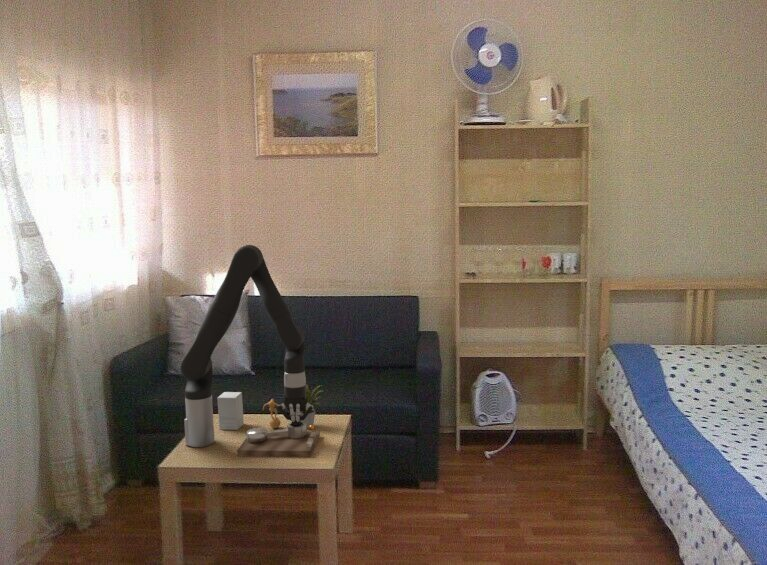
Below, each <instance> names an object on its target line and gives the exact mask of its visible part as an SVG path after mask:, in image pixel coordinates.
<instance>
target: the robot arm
mask: <svg viewBox="0 0 767 565" xmlns="http://www.w3.org/2000/svg"><path fill="white" fill-rule="evenodd" d="M250 279H251V280H252V281H253V283H254V285H255V287H256V289H257V292H258V294H259V296H260V299H261V302H262V304H263V307H264V309H265V311H266V312H267V315H268V317H269V318H270V320H271V321H272V323H273V324H274V327H275V330H276V334H277V335H278V337H279V340H280V342H281V344H282V345H283V346H284V347H285V356H284V359H283V360H284V361H283V362H284V363H283V368H284V369H283V370H284V375H283V386H284V388H283V389H284V391H283V392H284V399H283V402H282V403H281V404H278V405H279V406H277V409H278V411H279V412H280V413H281V415H283V417H284V418H285V419H286V420H287V421H290V422H292V426H294V427H296V426H301V422H300V421H301V420H304V419H305V418H306V417H307V415H308V414H309V413H310V411H311V410H312V409H314V408H315V407H314V406H313V405H314V404H313V405H312V404H311V405H310V404H309V403H308V400H307V398H306V385H307V384H306V383H307V378H306V370H305V368H306V366H305V346H306V345H305V344H306V336H305V332H304V330H303V329H302V328H301V327H299V326H296V325H295V322H294V321H293V315H292V312H291V310H290V309H289V307H288V305H287V303H286V302H285V300H284V298H283V296H282V294H281V293H280V291H279V289H278V288H277V286H276V284H275V282H274V280H273V278H272V276H271V273H270V271H269V269H268V266H267V263H266V261H265V258H264V254H263V253H262V251H261V249H260V248H259V247H257V246H256V245H253V244H246V245H243V246H241V247H239V248H238V249H236V250H235V252H234V253H233V255H232V258H231V260H230V264H229V267H228V269H227V272H226V275H225V278H224V279H223V281H222V283H221V285H220V286H219V288H218V290H217V291H216V293H215V295H214V297H213V299H212V301H211V303H210V304H209V306H208V308H207V310H206V313H205V316H204V317H203V319H202V322H201V324H200V327H199V329H198V333H197V334H196V337H195V339H194V341H193V343H192V345H191V347H190V348H189V350H188V352H187V353H186V354H185V356H184V357H183V359H182V360H181V363H180V372H181V375H182V376H183V378H185V379H186V384H185V388H184V400H185V418H184V436H185V439H184V440H185V446H189V447H192V448H205V447H207V446H210V445H213V444H214V443H215V425H214V411H213V408H214V406H213V393H212V392H213V390H212V389H213V386H214V384H213V383H214V378H213V376H214V374H213V361H212V356H213V353H214V351H215V349H216V347H217V346H218V344H219V343H220V341H221V340H222V339H223V337H224V336H225V335H226V333H227V332H228V330H229V328H230V326H231V324H232V323H233V321H234V318H235V317H236V315H237V313H238V310H239V307H240V304H241V300H242V295H243V292H244V290H245V288H246V285H247V283H249V281H250ZM305 406H306V412H305V413H304V414H303V415H302V416H301V411H302V410H303V409H304V407H305ZM286 408H287V409H286Z"/></svg>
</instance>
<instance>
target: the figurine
mask: <svg viewBox="0 0 767 565" xmlns="http://www.w3.org/2000/svg"><path fill="white" fill-rule="evenodd" d="M274 400H275V399H274V398H271V400H270V401H268V402H267V403H264V404H263V407H262V411H264V410H265V406H269V409H268V410H269V412H270V417H271V419H270V421H269V426H270V427H271V429H277V428H279V427H280V426H281V420H280V419H279V418H278V417H277V416H278V415H277V414H278V410H277V408H275V407H276V406H277V407H278V406H279V405H280V404H278V403H277V402H275V401H274ZM273 412H274V414H273ZM273 415H274V416H273Z"/></svg>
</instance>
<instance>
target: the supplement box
mask: <svg viewBox="0 0 767 565" xmlns="http://www.w3.org/2000/svg"><path fill="white" fill-rule="evenodd" d="M216 399H217V400H216V401H217V412H218V424H219V425H218V426H219V428H218V429H219V430H223V431H224V430H225V431H227V430H229V431H231V430H232V431H238V430H239V429H240V428H241V427H242V426H243V425H244V424H245V422H244V421H245V420H244V408H243V404H244V403H243V392H242V391H235V392H234V391H224V392H222V393H221V394H220V395H219V396H218V397H217V398H216Z"/></svg>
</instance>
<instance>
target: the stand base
mask: <svg viewBox="0 0 767 565" xmlns="http://www.w3.org/2000/svg"><path fill="white" fill-rule="evenodd" d="M320 433H321V432H320V431H319V430H315V431H314V430H307V435H306V436H305V437H303V438H296V439H295V438H289V437H288V435H283V436H274V437H267V440H266V441H264V442H261V443H250V442H248V441H247V437H246V438H245V439H244V440H243V442H242V443H241V444H240V445H239V447H238V449H236V454H237V457H238V456H239V457H285V458H286V457H290V458H291V457H292V458H294V457H299V458H302V457H303V458H306V457H307V458H310V457H311V456H312V454H313V452H314V450H315V448H316V445H317V443H318V442H319V439H320V437H321V434H320ZM317 441H318V442H317Z"/></svg>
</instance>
